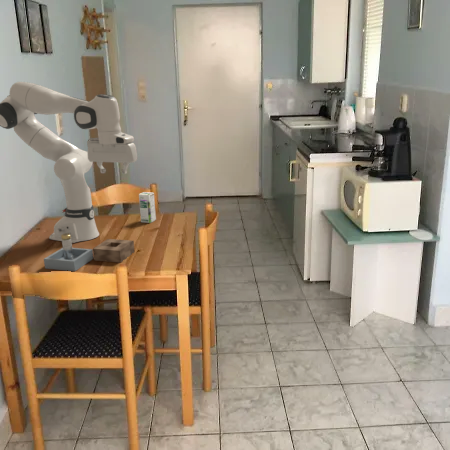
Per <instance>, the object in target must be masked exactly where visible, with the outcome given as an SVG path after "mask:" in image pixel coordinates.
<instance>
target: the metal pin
mask: <svg viewBox="0 0 450 450" xmlns="http://www.w3.org/2000/svg"><path fill="white" fill-rule="evenodd" d="M61 238H62V241H61V244H62V248H63V252H64V259H66V260H74V256H73V249H72V248H73V243H72V242H71V234H69V233H66V234H62V235H61Z"/></svg>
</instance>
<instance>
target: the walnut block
mask: <svg viewBox="0 0 450 450" xmlns="http://www.w3.org/2000/svg"><path fill="white" fill-rule="evenodd" d="M92 250H93V258H94V259H93V260H94V261H98V262H108V263H109V262H111V263H120V262H121V263H123V262H124V261H125V260H126V259H128V258H129V257H130V256H132V255H133V254H134V253H135V241H134V240H129V239H112V238H106V239H105V240H104V241H102V242H101V243H99V244H98V245H96V246H95V247H93V248H92ZM132 253H133V254H132ZM127 257H128V258H127ZM123 260H124V261H123Z"/></svg>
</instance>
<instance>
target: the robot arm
mask: <svg viewBox="0 0 450 450" xmlns="http://www.w3.org/2000/svg"><path fill="white" fill-rule="evenodd" d="M59 114H73V119H74V122H75V124H76V126H77V127H78V128H79V129H81V130H94V129H97V137H90V138H88V139H87V141H86V146H87V150H83V149H81V148H79V147H77V146H75V144H72V143H70V142H68V141H66V140H64V139H63V138H62V137H60V136H59V135H58V134H56V133H55V132H53V131H52V130H50V129H49V128H48V127H47V126H45V125H44V124H42V123H41V122H40V121H39V120H38V119H37V118H36V116H35V115H46V116H47V115H59ZM120 120H121V113H120V107H119V103H118V100H117V98H116V97H115V96H114V95H111V94H102V93H101V94H96V95H95V96H94V98H92V99H91V100H90V101H89V100H86V99H82V98H78V97H74V96H71V95H68V94H65V93H62V92H59V91H56V90H53V89H51V88H49V87H46V86H43V85H40V84H36V83H33V82H28V81H27V82H26V81H17V82H14V83H13V84H12V85H11V87H10V89H9V95H7V96H6V97H5V98H4V99H2V100H1V102H0V127H1V128H3V129H6V130H10V129H12V128H13V131H14V132H15V133H16V135H17V136H18V137H19V138H20V139H21V140H22V141H23V142H24V143H25V144H26V145H28V146H29V147H30V148H32V150H34V151H35V152H37V153H38V155H40V156H42V157H43V158H44V159H47V160H51V161H53V162H55V163H54V165H53V171H54V174H55V176H56V177H57V178H58V179H59V180H60V183H61V185H62V187H63V191H64V195H65V203H66V204H65V205H66V208H64V209H62V210H61V211H62V213H64V215H63V217H61V218H60V219H59V220H58V221H57V222H56V223H55V224H54V226H53V233H51V234H50V235H49V240H53V241H59V242H62V238H61V235H62V234H66V233H69V234H71V242H72V244H75V243H78V242H84V241H89V240H93V239H95V238H98V237H99V236H100V232H99V230H98V228H97V223H96V221H95V209H94V205H93V202H92V193H91V188H90V187H89V186H88V183H87V182H86V178H85V174H86V173H88V172H89V171H90V170H91V168H92V167H93V163H96V165H97V167H98V169H99V170H100V174H106V172H107V169H106V168H107V167H106V168H105V167H104V166H103V163H123V168H121V174H122V175H123V174H124V175H126V174H128V168H129V166H130V164H132V163H136V162H137V161H138V151H137V146H136V144H135V143H134V142H135V138H134V136H133V135H131V134H129V133H128V134H127V133H125V132H122V127H121V124H120Z"/></svg>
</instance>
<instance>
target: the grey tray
mask: <svg viewBox="0 0 450 450" xmlns="http://www.w3.org/2000/svg"><path fill="white" fill-rule="evenodd" d="M72 249H73V256H74V260H66V259H64V252H63V247H61V248H60V249H58V250H57V251H55V252H53V253H51V254H49V255H48V256H46V257H44V258H43V263H44V268H45V269H47V270H57V271H59V270H60V271H67V270H68V271H69V272H76V271H77V270H79V269H81V268H82V267H84V266H85V265H86V264H89V262H91V261H92V260H94V254H93V248H82V247H81V248H80V247H79V248H78V247H72Z"/></svg>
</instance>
